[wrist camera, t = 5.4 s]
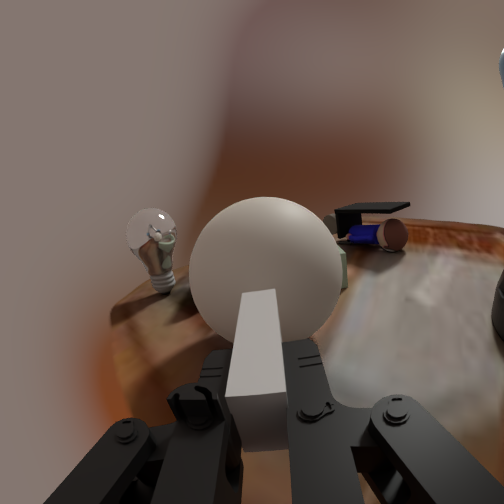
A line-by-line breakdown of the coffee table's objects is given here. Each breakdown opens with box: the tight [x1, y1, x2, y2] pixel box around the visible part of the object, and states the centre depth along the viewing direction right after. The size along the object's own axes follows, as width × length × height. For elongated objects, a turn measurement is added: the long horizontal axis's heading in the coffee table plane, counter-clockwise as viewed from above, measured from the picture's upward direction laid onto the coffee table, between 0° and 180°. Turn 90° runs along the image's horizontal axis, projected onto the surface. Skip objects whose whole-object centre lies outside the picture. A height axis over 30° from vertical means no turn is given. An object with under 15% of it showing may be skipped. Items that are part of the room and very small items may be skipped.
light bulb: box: [126, 208, 177, 294], centre depth 35 cm, size 7×7×12 cm
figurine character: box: [323, 202, 410, 252], centre depth 42 cm, size 7×8×15 cm
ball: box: [189, 197, 343, 343], centre depth 21 cm, size 12×12×12 cm
